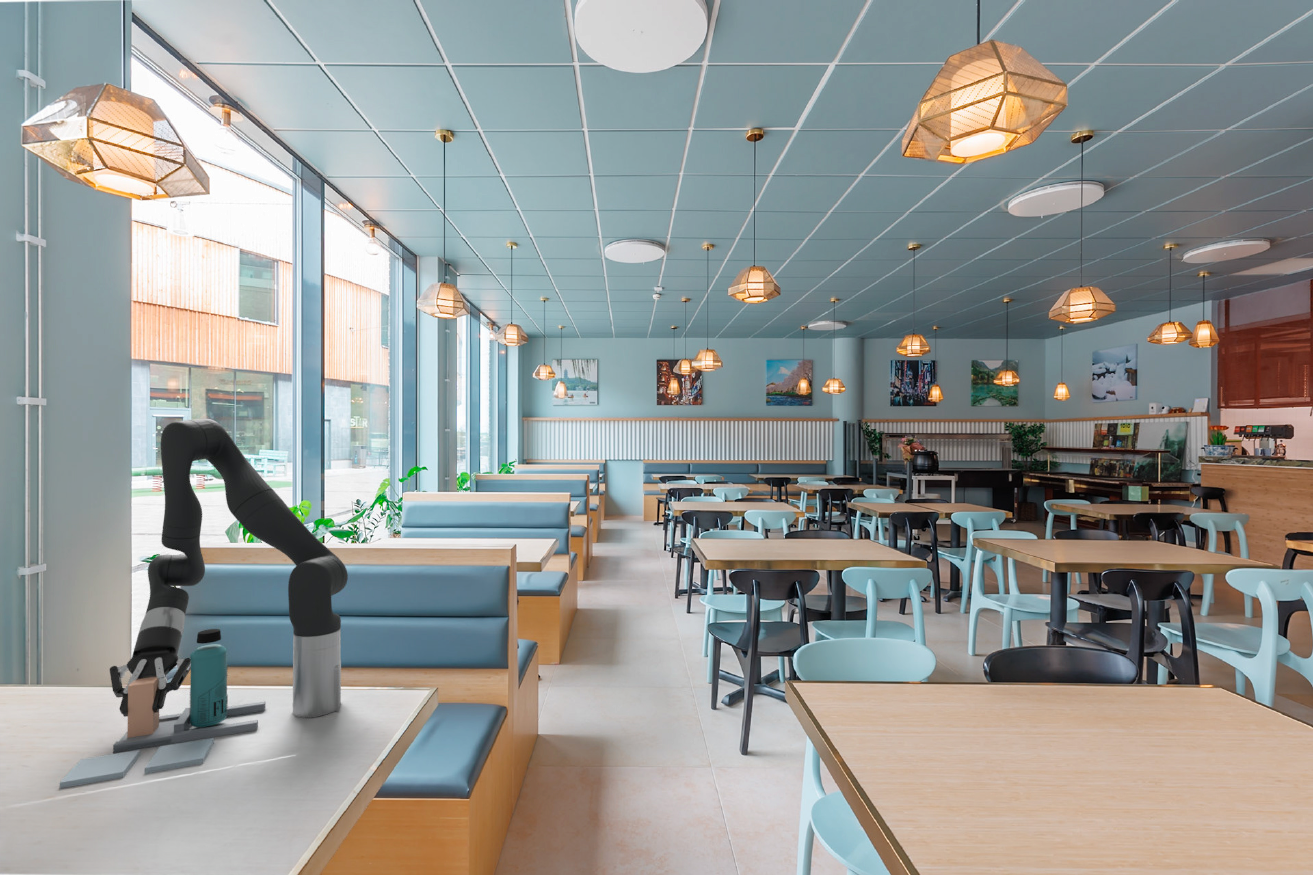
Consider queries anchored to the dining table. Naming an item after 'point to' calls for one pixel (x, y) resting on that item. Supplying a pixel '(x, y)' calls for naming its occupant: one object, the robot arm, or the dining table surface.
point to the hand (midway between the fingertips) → (140, 712)
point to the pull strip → (171, 721)
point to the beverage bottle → (208, 681)
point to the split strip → (122, 762)
